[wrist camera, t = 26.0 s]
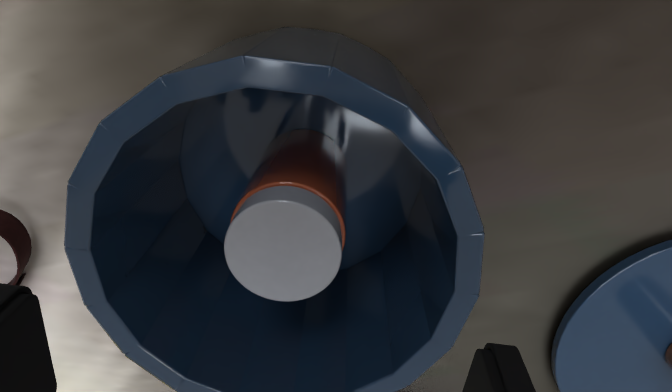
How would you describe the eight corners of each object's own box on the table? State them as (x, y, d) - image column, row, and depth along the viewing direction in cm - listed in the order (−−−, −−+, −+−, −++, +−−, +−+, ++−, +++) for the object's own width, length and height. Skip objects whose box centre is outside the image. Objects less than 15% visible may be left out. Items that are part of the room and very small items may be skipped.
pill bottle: (267, 119, 20) (227, 185, 14) (356, 139, 21) (358, 212, 14) (255, 200, 22) (214, 292, 16) (337, 217, 22) (330, 314, 16)
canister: (159, 9, 19) (29, 28, 11) (466, 47, 19) (541, 91, 12) (170, 265, 24) (86, 397, 17) (411, 293, 25) (437, 435, 17)
